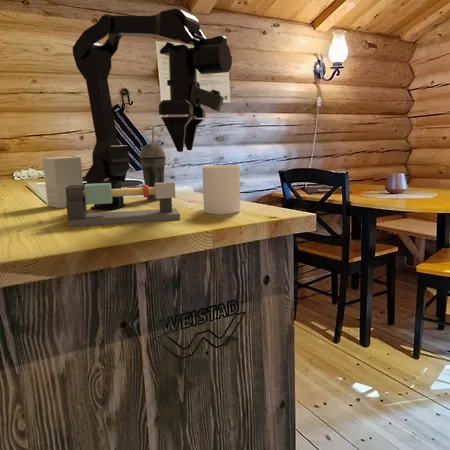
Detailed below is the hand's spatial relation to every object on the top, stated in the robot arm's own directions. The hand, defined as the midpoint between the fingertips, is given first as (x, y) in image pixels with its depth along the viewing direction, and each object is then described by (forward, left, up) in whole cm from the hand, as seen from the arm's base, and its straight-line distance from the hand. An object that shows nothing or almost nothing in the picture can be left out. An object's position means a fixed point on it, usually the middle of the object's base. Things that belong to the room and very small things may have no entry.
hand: (185, 151), depth 92 cm
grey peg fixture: (-10, -10, -14) cm, 20 cm away
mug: (+6, +4, -14) cm, 16 cm away
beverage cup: (-18, +20, -14) cm, 30 cm away
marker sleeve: (-14, -12, -10) cm, 21 cm away
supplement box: (-37, +6, -14) cm, 40 cm away
